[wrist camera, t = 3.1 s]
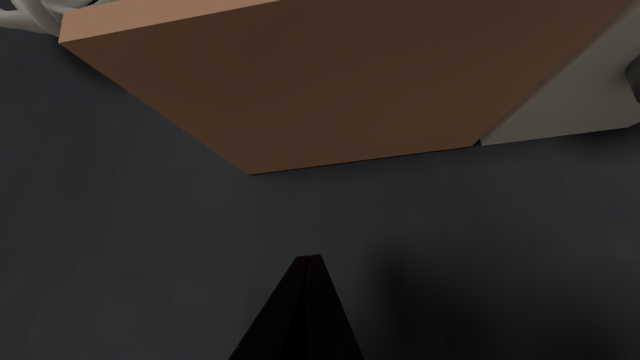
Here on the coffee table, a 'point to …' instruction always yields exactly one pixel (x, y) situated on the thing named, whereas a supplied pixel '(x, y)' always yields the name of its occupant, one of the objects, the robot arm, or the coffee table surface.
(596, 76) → the beige rectangular box
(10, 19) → the decorative ball
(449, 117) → the side door
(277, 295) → the robot arm
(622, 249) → the coffee table surface
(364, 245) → the coffee table surface
